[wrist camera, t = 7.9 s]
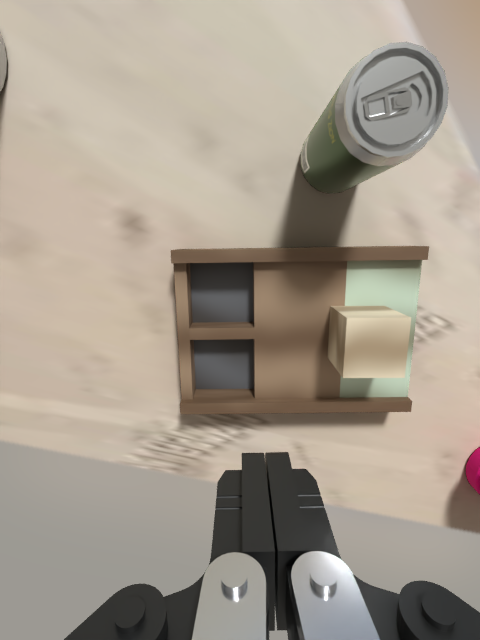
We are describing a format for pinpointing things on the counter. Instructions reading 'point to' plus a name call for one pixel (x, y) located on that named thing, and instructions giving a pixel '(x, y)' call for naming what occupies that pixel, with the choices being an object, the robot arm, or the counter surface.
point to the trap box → (285, 326)
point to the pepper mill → (474, 470)
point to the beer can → (376, 117)
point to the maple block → (368, 341)
